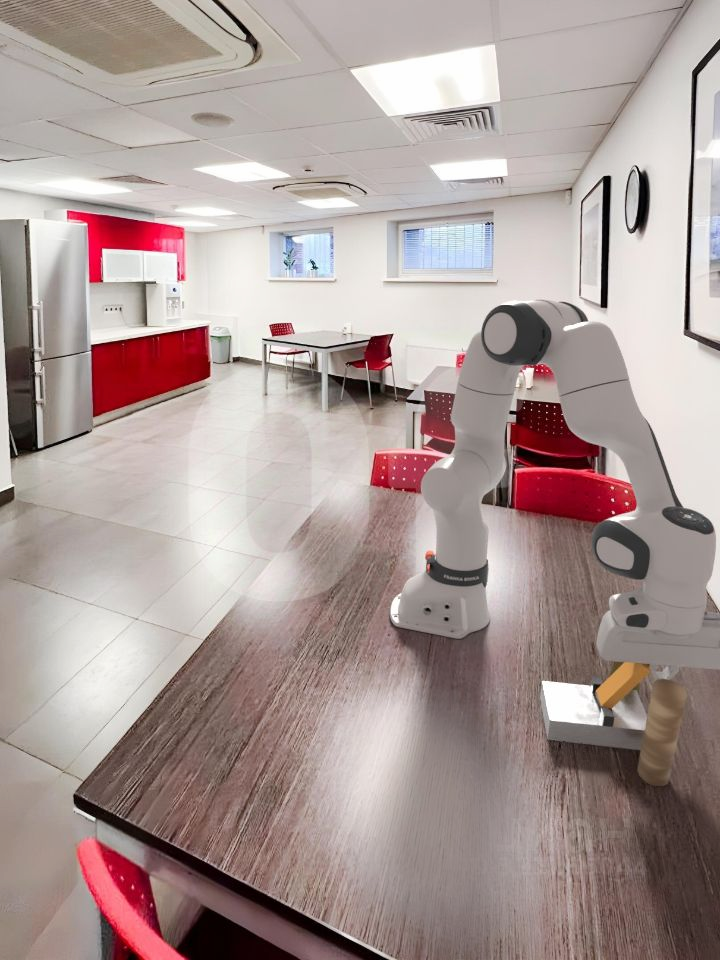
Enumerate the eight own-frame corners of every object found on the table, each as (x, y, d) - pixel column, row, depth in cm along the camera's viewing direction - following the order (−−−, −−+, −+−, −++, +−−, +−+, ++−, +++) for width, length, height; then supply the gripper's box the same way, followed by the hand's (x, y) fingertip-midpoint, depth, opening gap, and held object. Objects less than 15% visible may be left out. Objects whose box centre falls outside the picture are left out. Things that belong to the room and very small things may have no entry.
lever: (597, 710, 97) (642, 667, 93) (592, 692, 101) (635, 650, 97) (605, 715, 97) (651, 672, 93) (600, 697, 101) (643, 655, 97)
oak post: (641, 784, 88) (658, 697, 83) (633, 762, 92) (649, 677, 87) (672, 788, 88) (691, 700, 82) (663, 765, 92) (680, 680, 86)
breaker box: (547, 739, 97) (551, 710, 95) (540, 699, 106) (543, 671, 104) (650, 751, 94) (655, 721, 92) (633, 708, 104) (638, 680, 102)
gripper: (734, 604, 93) (719, 677, 97) (599, 595, 96) (590, 667, 100) (753, 625, 87) (736, 702, 91) (608, 616, 90) (598, 691, 94)
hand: (658, 684), depth 96 cm, fingers closed
